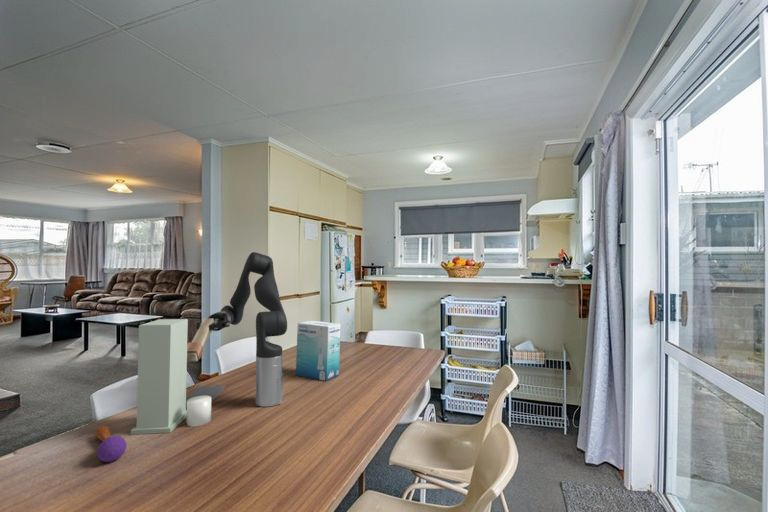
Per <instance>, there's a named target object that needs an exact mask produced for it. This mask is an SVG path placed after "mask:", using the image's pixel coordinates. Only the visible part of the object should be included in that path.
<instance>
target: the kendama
mask: <svg viewBox="0 0 768 512" xmlns="http://www.w3.org/2000/svg"><path fill="white" fill-rule="evenodd" d="M94 436H95V437H96V438H97V439H99V440H100V441H102V442H101V443H100V444H99V445H98V447H97V451H96V452H97V453H96V455H97V457H98V459H99V460H100V461H102V462H104V463H111V462H114V461H117V460H118V459H120V458H121V457H122V456H123V455H124V453H125V451H126V450H127V442H126V440H125V438H124V437H122V436H120V435H112V436H111V434H110V428H109V426H107V425H101V426H99V427H97V428H96V430H95V433H94Z"/></svg>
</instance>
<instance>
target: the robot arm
mask: <svg viewBox="0 0 768 512" xmlns="http://www.w3.org/2000/svg"><path fill="white" fill-rule="evenodd" d="M250 273H254V274H257V275H260V276H261V277H259V278H258V279H257V280H256V281H255V283H254V287H253V288H254V289H253V291H254V297H255V299H256V301H257V302H258V303H259V305H261V306H263V307H264V308H265V309H267V310H268V311H260V312H257V314H256V317H255V336H256V339H255V341H256V344H255V345H256V346H255V347H256V348H255V349H256V350H255V352H256V354H255V399H254V400H255V405H256V406H259V407H262V408H264V407H272V406H276V405H281V403H282V401H283V397H284V395H283V394H284V373H283V347H282V346H281V345H280V344H275V343H272V342H270V341H268V340H267V338H270V337H281V336H283V335H285V334H286V332H287V331H288V319H287V316H286V313H285V310H284V308H283V305H282V302H281V297H280V293H279V288H278V285H277V282H276V278H275V270H274V261H273V259H272V257H271V256H269V255H266V254H262V253H260V252H256V251H254V252H251V253H250V254H249V255H248V256H247V258H246V261H245V264H244V266H243V269H242V272H241V275H240V278H239V281H238V284H237V286H236V289H235V290H234V293H233V294H232V297H231V298H230V300H229V304H230V305H225V306H223V307H222V308H221V309H220V311H218V312H215V313H212V314H211V315H209V316H208V318H213V319H214V323H212V324H210V325H209V330H212V331H214V332H219V331H221V330H223V329H224V328H225V329H226V328H229V327H230V325H233V326H237V325H239V324H240V323H241V321H242V320H243V316H244V310H245V306H246V304H247V302H248V300H249V298H250V296H251V291H252V290H251V285H250V279H249V278H250V277H249V276H250ZM202 322H203V321H201V320H196V322H195V323H196V324H195V327H196V328H195V329H196V331H198V329H199V327H200V326H201V324H202Z"/></svg>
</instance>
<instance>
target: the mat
mask: <svg viewBox="0 0 768 512" xmlns="http://www.w3.org/2000/svg"><path fill="white" fill-rule="evenodd" d="M225 388H226V385H208V386H207V385H206V386H203V385H202V386H198V387H197V388H196V389H194V390H193V391H192V392H191V393H190V394H189V395H187V396H186V410H187V400H189V399H190V398H193V397H197V396H210V397H211V403H212V402H213V401H214V400H215V399H216V398H217V397H218V395H220V394H221V392H222V391H223V390H225Z"/></svg>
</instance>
